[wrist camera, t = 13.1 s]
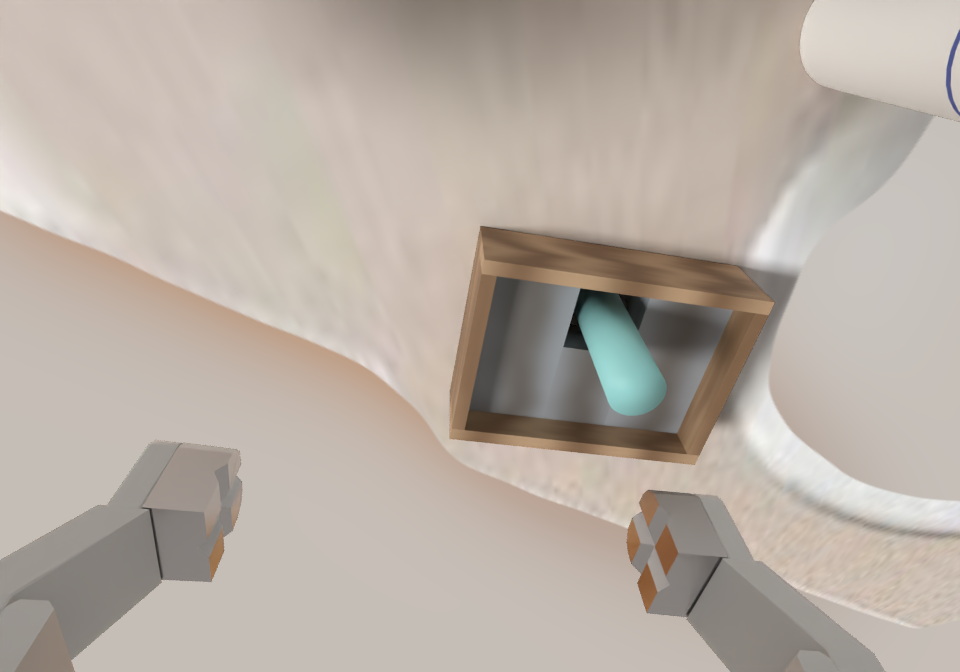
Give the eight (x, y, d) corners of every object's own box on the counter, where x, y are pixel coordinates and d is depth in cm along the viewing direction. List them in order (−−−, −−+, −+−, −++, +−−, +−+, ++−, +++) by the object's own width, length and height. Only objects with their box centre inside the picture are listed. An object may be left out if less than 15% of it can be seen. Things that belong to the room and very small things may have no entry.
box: (449, 391, 49) (449, 438, 44) (480, 226, 41) (484, 259, 36) (670, 417, 51) (694, 464, 46) (737, 265, 44) (775, 302, 39)
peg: (578, 276, 44) (617, 364, 33) (623, 283, 44) (675, 371, 34) (567, 317, 45) (600, 412, 35) (610, 323, 46) (655, 418, 36)
